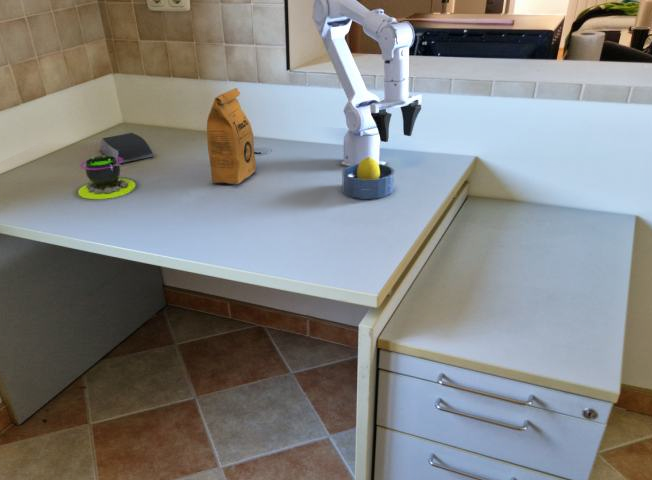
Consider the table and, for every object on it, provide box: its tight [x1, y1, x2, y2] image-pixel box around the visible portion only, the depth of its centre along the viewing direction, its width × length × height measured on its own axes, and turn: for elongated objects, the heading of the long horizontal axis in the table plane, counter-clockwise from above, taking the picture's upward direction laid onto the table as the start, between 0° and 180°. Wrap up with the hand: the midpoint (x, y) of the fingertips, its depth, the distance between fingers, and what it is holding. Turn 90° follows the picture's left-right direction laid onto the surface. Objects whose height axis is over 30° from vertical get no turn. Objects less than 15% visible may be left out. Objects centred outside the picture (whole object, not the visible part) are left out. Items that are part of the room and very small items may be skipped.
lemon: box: [357, 157, 380, 179], centre depth 145 cm, size 6×6×8 cm
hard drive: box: [99, 132, 155, 164], centre depth 184 cm, size 13×19×4 cm
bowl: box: [341, 164, 395, 200], centre depth 146 cm, size 12×12×5 cm
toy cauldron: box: [77, 144, 137, 200], centre depth 156 cm, size 15×15×11 cm
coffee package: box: [206, 87, 257, 185], centre depth 154 cm, size 10×12×22 cm
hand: (396, 138), depth 150 cm, fingers open, 7 cm apart
